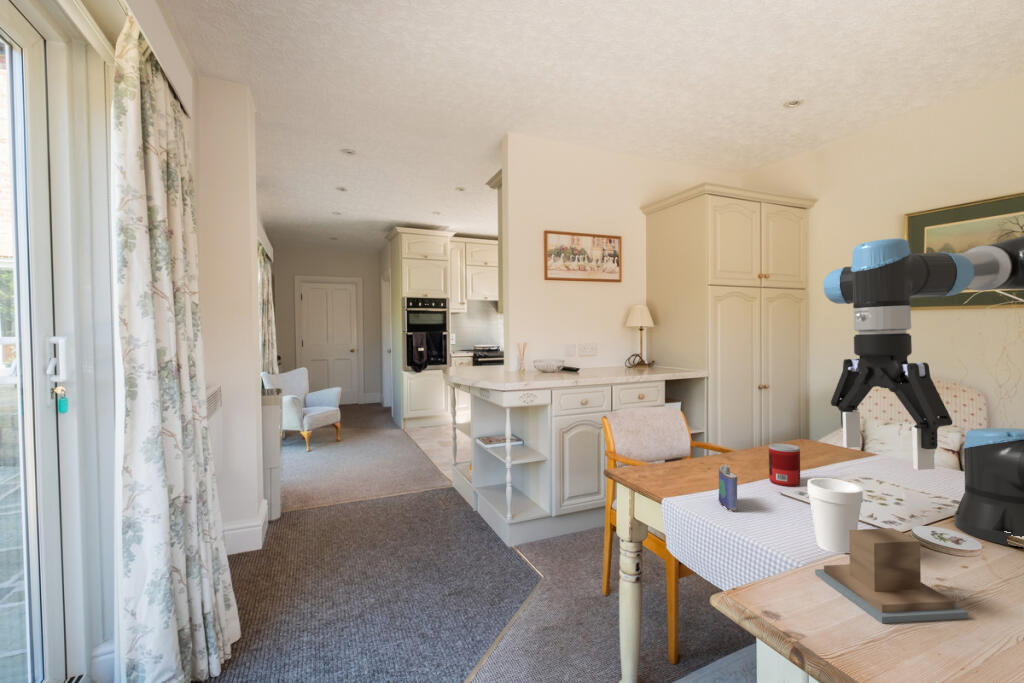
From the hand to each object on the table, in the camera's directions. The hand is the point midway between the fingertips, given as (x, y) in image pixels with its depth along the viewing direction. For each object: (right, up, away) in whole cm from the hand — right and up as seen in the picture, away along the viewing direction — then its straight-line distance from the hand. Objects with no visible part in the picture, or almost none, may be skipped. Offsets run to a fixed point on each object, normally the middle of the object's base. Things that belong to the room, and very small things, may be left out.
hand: (884, 457), depth 75 cm
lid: (0, -23, 0) cm, 23 cm away
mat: (0, -24, 0) cm, 24 cm away
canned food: (+18, -23, +57) cm, 64 cm away
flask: (-7, -24, +41) cm, 48 cm away
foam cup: (+4, -24, +17) cm, 30 cm away
